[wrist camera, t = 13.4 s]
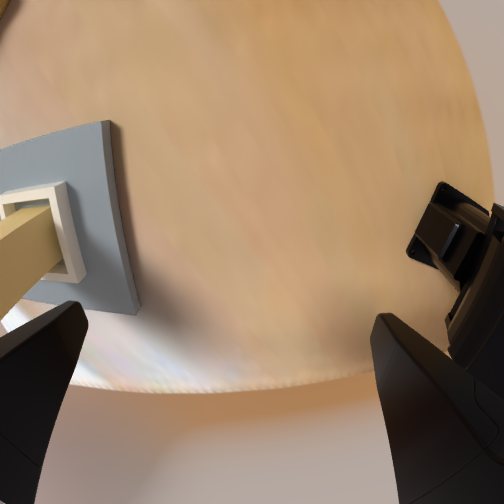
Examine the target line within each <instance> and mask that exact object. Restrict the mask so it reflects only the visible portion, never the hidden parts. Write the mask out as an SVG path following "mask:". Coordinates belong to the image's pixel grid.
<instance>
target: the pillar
mask: <svg viewBox="0 0 504 504" xmlns="http://www.w3.org/2000/svg"><path fill="white" fill-rule="evenodd" d="M62 258H63V254H62V251H61V247H60V244H59V240H58V236H57V232H56V228H55V224H54V220H53V215H52V211H51V206H50V205H48V206H38V207H29V208H21V209H20V210H18V211H16V212H15V213H13V214H11V215H10V216H8V217H6V218H5V219H3V220H2V221H0V321H1V320H2V318H3V317H4V316H5V315H6V314H7V313H8V312H9V311H10V310H11V309H12V307H13V306H14V305H15V304H16V303H17V302H18V301H19V300H20V299H21V298H22V297H23V296H24V295H25V294H26V293H27V292H28V291H29V290H30V289H31V288H32V287H33V286H34V285H35V284H36V283H37V282H38V281H39V280H40V279H41V278H42V277H43V276H44V275H45V274H46V273H47V272H48V271H49V270H50V269H51V268H53V267H54V266H55V265H56V264H57V263H58V262H59V261H60V260H61V259H62Z"/></svg>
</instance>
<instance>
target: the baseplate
mask: <svg viewBox="0 0 504 504" xmlns="http://www.w3.org/2000/svg"><path fill="white" fill-rule="evenodd" d="M48 205H50V206H51V211H52V215H53V220H54V224H55V228H56V232H57V236H58V240H59V244H60V247H61V251H62V254H63V258H62V259H61V260H60V261H59V262H58V263H57V264H56V265H55V266H54V267H53V268H51V269H50V270H49V271H48V272H47V273H46V274H45V275H44V276H43V277H42V278H41V279H40V280H39V281H38V282H37V283H36V284H35V285H34V286H33V287H32V288H31V289H30V290H29V291H28V292H27V293H26V294H25V295H24V296H23V297H22V298H21V299H26V300H31V301H37V302H43V303H49V304H55V305H61V304H63V303H64V302H66V301H69V300H73V301H78V302H80V303H81V305H82V307H83V309H88V310H96V311H103V312H112V313H120V314H129V315H136V314H137V312H138V311H139V309H140V303H139V299H138V295H137V291H136V287H135V283H134V279H133V275H132V270H131V266H130V262H129V257H128V252H127V247H126V242H125V237H124V232H123V227H122V221H121V215H120V209H119V203H118V196H117V189H116V182H115V174H114V165H113V156H112V146H111V134H110V120H106V121H99V122H95V123H90V124H85V125H81V126H77V127H73V128H69V129H65V130H61V131H57V132H54V133H50V134H47V135H43V136H40V137H36V138H33V139H30V140H27V141H24V142H21V143H18V144H15V145H12V146H9V147H7V148H4V149H1V150H0V221H2V220H3V219H5V218H6V217H8V216H10V215H11V214H13V213H15V212H16V211H18V210H20V209H21V208H29V207H38V206H48Z"/></svg>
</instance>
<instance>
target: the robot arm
mask: <svg viewBox="0 0 504 504" xmlns="http://www.w3.org/2000/svg"><path fill="white" fill-rule="evenodd" d="M443 186H444V190H443V191H442V187H443ZM491 211H492V215H491V217H489V212H488V211H487V210H486V209H485V208H483V207H482V206H480V205H479V204H477V203H476V202H475V201H473V200H472V199H470V198H469V197H467V196H466V195H464V194H463V193H461V192H460V191H458V190H457V189H455V188H453V187H452V186H450V185H449V184H447V183H445V182H443V181H442V182H439V183H438V185H437V187H436V189H435V192H434V194H433V196H432V198H431V201H430V203H429V204H428V206H427V208H426V210H425V212H424V214H423V216H422V218H421V220H420V223H419V225H418V227H417V229H416V231H415V234H414V236H413V238H412V240H411V242H410V243H409V245H408V247H407V250H406V253H407V255H408V256H409V257H410V258H412V259H415V260H417V261H419V262H422V263H424V264H427V265H429V266H432V267H434V268H436V269H439V270H440V271H441V272H442V273H443V274H444V276H445V277H446V278H447V279H448V280H449V282H450V283H451V284H452V285H453V286H454V288H455V289H456V290H457V291H458V293H459V296H458V298H457V300H456V302H455V304H454V306H453V308H452V310H451V312H450V313H448V315H447V316H446V318H445V322H446V327H447V331H448V332H447V334H448V339H449V343H450V345H449V347H448V352H449V354H450V356H451V358H452V359H451V358H450V357H448V356H447V355H446V354H445V353H443V352H442V351H441V350H439V349H438V348H437V347H436V346H434V345H433V344H432V343H430V342H429V341H428V340H427V339H425V338H424V337H423V336H421V335H420V334H419V333H417V332H416V331H415V330H414V329H412V328H411V327H410V326H408V325H407V324H406V323H404V322H403V321H402V320H400V319H399V318H398V317H396V316H395V315H394V314H392V313H380V314H378V315H377V317H376V320H375V323H374V326H373V329H372V332H371V337H370V343H371V349H372V356H373V363H374V370H375V378H376V384H377V390H378V394H379V398H380V402H381V406H382V411H383V415H384V420H385V425H386V429H387V434H388V439H389V444H390V449H391V455H392V460H393V466H394V471H395V478H396V484H397V491H398V498H399V504H504V207H503V206H501V205H498V204H496V203H493V206H492V210H491ZM412 250H414V252H413V253H411V251H412ZM87 330H88V320H87V317H86V315H85V312H84V310H83V307H82V305H81V303H80V302H78V301H73V300H69V301H66V302H64V303H63V304H61V305H59V306H57V307H55V308H53V309H51V310H49V311H47V312H46V313H44V314H42V315H40V316H38V317H36V318H35V319H33V320H31V321H29V322H27V323H25V324H24V325H22V326H20V327H18V328H16V329H15V330H13V331H11V332H9V333H7V334H6V335H4V336H2V337H0V504H3V503H5V504H34V502H35V497H36V492H37V487H38V483H39V479H40V474H41V470H42V466H43V461H44V458H45V454H46V451H47V447H48V444H49V441H50V437H51V434H52V431H53V428H54V425H55V421H56V419H57V415H58V413H59V410H60V407H61V404H62V401H63V398H64V396H65V393H66V391H67V388H68V385H69V383H70V380H71V378H72V375H73V373H74V370H75V367H76V364H77V361H78V358H79V355H80V352H81V348H82V345H83V342H84V339H85V336H86V333H87Z"/></svg>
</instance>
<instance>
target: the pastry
mask: <svg viewBox="0 0 504 504" xmlns="http://www.w3.org/2000/svg"><path fill="white" fill-rule="evenodd" d="M9 1H10V0H0V19H1V17H2V15H3V13H4V11H5V9H6V7H7V5H8V3H9Z"/></svg>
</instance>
